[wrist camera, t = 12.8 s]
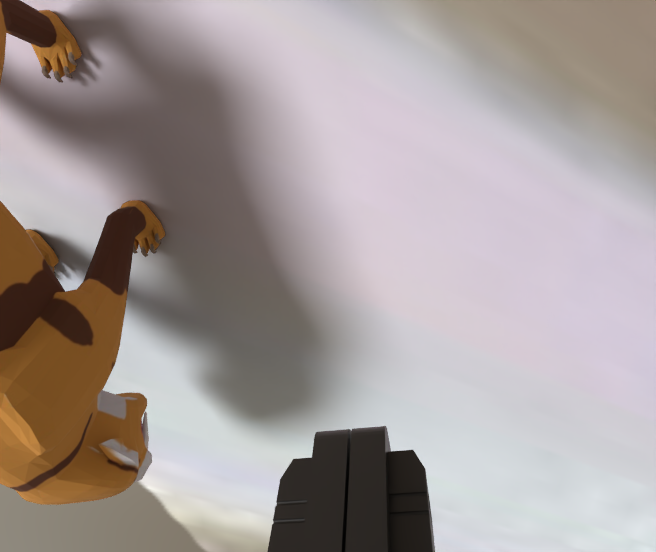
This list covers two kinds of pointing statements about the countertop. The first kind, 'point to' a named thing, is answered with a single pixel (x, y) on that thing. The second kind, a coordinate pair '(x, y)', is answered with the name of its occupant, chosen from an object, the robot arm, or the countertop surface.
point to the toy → (66, 334)
